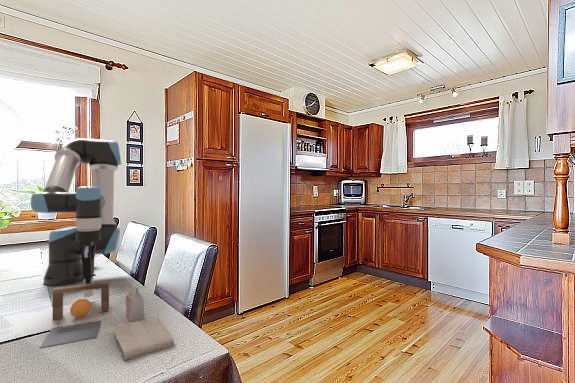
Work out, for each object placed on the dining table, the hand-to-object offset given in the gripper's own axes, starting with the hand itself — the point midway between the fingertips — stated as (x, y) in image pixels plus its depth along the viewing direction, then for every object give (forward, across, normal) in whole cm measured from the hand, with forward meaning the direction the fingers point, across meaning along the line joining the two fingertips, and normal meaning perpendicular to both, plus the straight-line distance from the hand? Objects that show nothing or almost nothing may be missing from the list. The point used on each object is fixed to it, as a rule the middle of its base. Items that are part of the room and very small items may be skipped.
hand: (88, 295), depth 106 cm
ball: (-1, +15, 0) cm, 15 cm away
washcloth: (+3, +39, +17) cm, 43 cm away
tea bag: (+2, +23, +15) cm, 28 cm away
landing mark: (+2, +27, 0) cm, 27 cm away
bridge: (+2, +13, 0) cm, 13 cm away
